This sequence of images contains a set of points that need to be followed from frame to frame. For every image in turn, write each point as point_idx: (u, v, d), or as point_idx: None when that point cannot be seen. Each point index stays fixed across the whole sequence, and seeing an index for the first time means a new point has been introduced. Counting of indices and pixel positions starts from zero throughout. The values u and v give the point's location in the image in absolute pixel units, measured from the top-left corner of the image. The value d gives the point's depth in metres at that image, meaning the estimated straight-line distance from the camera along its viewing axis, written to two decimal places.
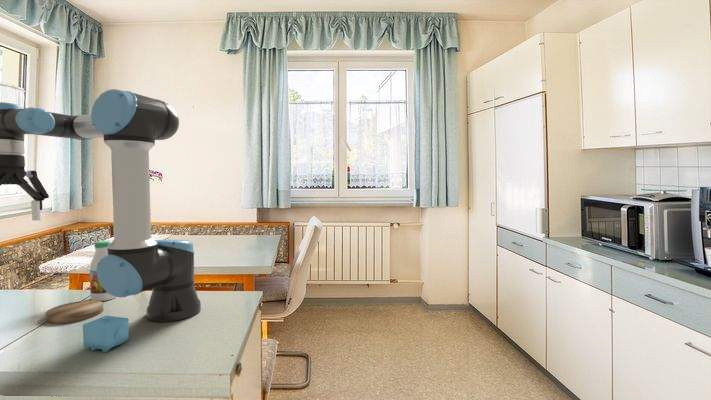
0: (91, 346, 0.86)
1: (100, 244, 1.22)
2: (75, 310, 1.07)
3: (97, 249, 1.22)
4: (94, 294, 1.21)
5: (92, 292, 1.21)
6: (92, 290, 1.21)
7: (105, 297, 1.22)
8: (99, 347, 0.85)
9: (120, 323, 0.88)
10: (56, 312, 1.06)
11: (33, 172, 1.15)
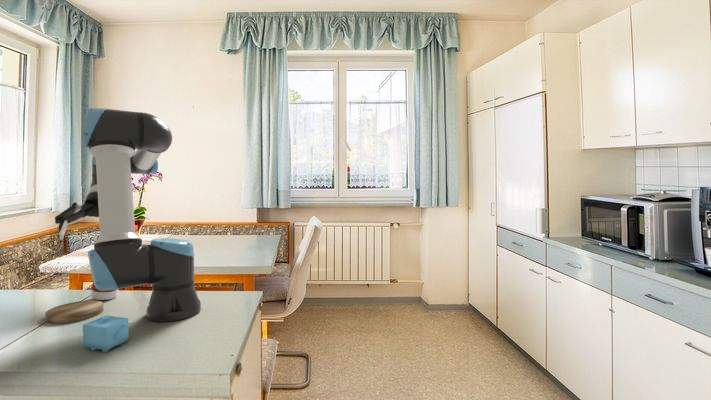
0: (91, 346, 0.86)
1: None
2: (75, 310, 1.07)
3: None
4: (95, 292, 1.21)
5: (93, 290, 1.21)
6: (94, 288, 1.21)
7: (106, 296, 1.22)
8: (99, 347, 0.85)
9: (120, 323, 0.88)
10: (56, 312, 1.06)
11: None
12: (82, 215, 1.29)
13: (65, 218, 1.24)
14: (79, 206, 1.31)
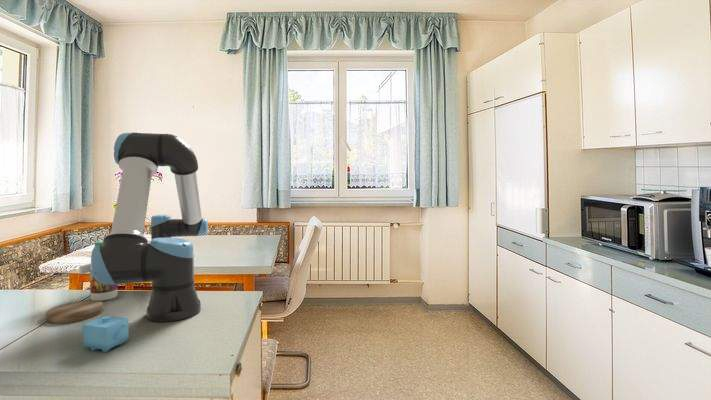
0: (91, 346, 0.86)
1: (100, 244, 1.22)
2: (75, 310, 1.07)
3: None
4: (94, 294, 1.21)
5: (92, 292, 1.21)
6: (92, 290, 1.21)
7: (105, 296, 1.22)
8: (99, 347, 0.85)
9: (120, 323, 0.88)
10: (56, 312, 1.06)
11: None
12: None
13: None
14: None
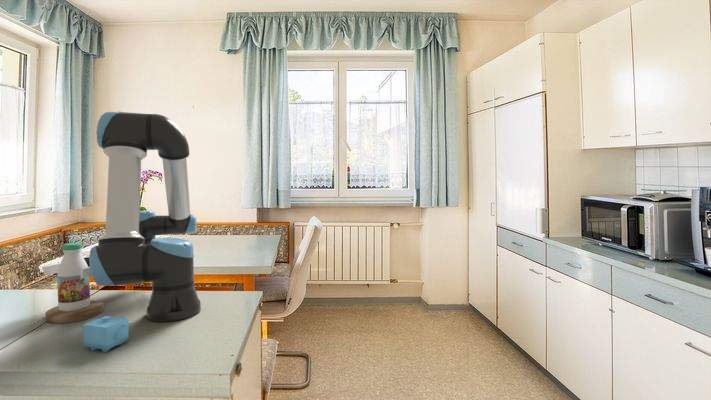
0: (91, 346, 0.86)
1: (69, 246, 1.06)
2: None
3: (65, 252, 1.07)
4: (62, 303, 1.06)
5: (60, 301, 1.06)
6: (60, 299, 1.06)
7: (75, 306, 1.07)
8: (99, 347, 0.85)
9: (120, 323, 0.88)
10: (56, 312, 1.06)
11: None
12: (90, 263, 1.18)
13: None
14: None
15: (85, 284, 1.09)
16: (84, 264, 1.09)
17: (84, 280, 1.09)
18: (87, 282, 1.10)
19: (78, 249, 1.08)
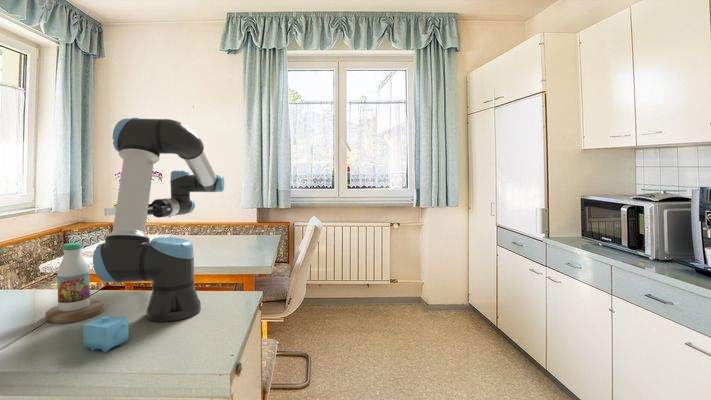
0: (91, 346, 0.86)
1: (69, 246, 1.06)
2: None
3: (66, 252, 1.07)
4: (62, 303, 1.06)
5: (60, 301, 1.06)
6: (60, 299, 1.06)
7: (75, 306, 1.07)
8: (99, 347, 0.85)
9: (120, 323, 0.88)
10: (56, 312, 1.06)
11: (167, 206, 1.41)
12: None
13: None
14: None
15: (85, 284, 1.09)
16: (84, 264, 1.09)
17: (84, 280, 1.09)
18: (87, 282, 1.10)
19: (78, 249, 1.08)
